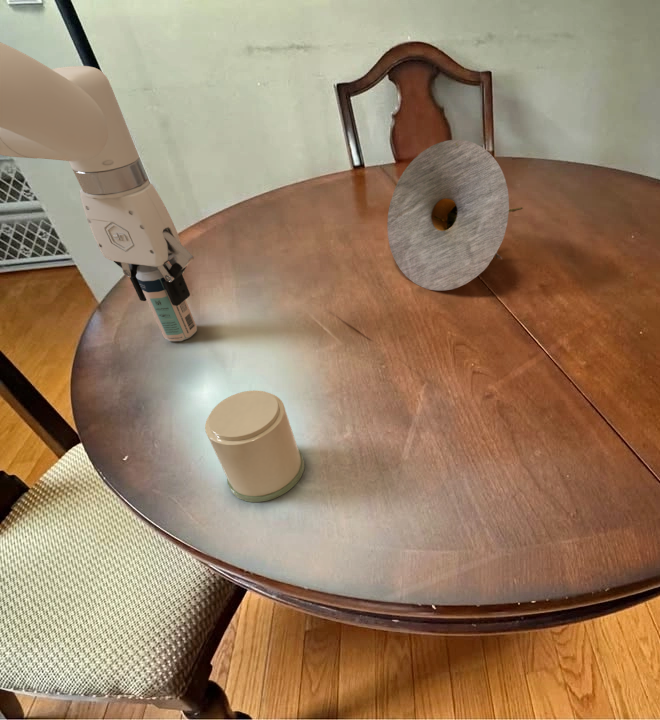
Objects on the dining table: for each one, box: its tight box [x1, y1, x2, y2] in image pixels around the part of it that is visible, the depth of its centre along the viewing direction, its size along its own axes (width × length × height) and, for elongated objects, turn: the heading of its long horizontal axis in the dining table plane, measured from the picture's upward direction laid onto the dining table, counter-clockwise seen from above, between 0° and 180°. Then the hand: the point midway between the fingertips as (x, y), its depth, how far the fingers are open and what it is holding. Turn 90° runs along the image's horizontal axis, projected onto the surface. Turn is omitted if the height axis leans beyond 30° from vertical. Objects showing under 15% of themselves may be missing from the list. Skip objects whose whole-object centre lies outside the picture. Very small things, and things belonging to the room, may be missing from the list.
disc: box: [387, 139, 524, 291], centre depth 98 cm, size 25×18×25 cm
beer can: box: [136, 262, 198, 342], centre depth 82 cm, size 5×5×12 cm
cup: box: [204, 389, 305, 503], centre depth 61 cm, size 8×8×10 cm
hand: (165, 297), depth 82 cm, fingers closed on beer can, 4 cm apart
